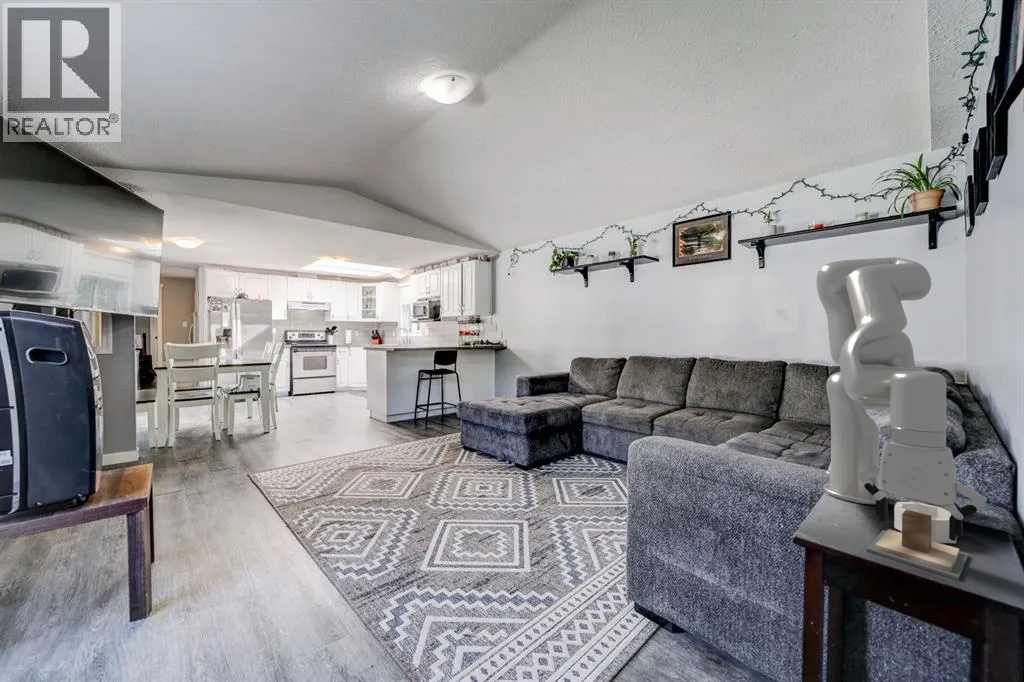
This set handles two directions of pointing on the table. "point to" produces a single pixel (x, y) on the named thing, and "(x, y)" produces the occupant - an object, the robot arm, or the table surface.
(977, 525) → the table surface
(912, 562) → the mat
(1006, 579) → the table surface
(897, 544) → the lid
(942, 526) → the bowl
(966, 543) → the table surface
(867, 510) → the table surface
